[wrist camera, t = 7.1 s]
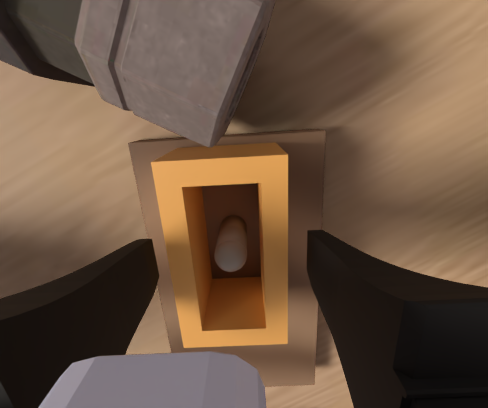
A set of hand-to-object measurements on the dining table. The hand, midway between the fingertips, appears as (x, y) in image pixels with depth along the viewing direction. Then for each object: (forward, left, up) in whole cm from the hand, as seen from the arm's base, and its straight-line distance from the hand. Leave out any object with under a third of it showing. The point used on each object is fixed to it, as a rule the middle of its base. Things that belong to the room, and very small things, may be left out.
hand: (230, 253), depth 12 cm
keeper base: (-4, 0, -4) cm, 6 cm away
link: (0, 0, -3) cm, 3 cm away
